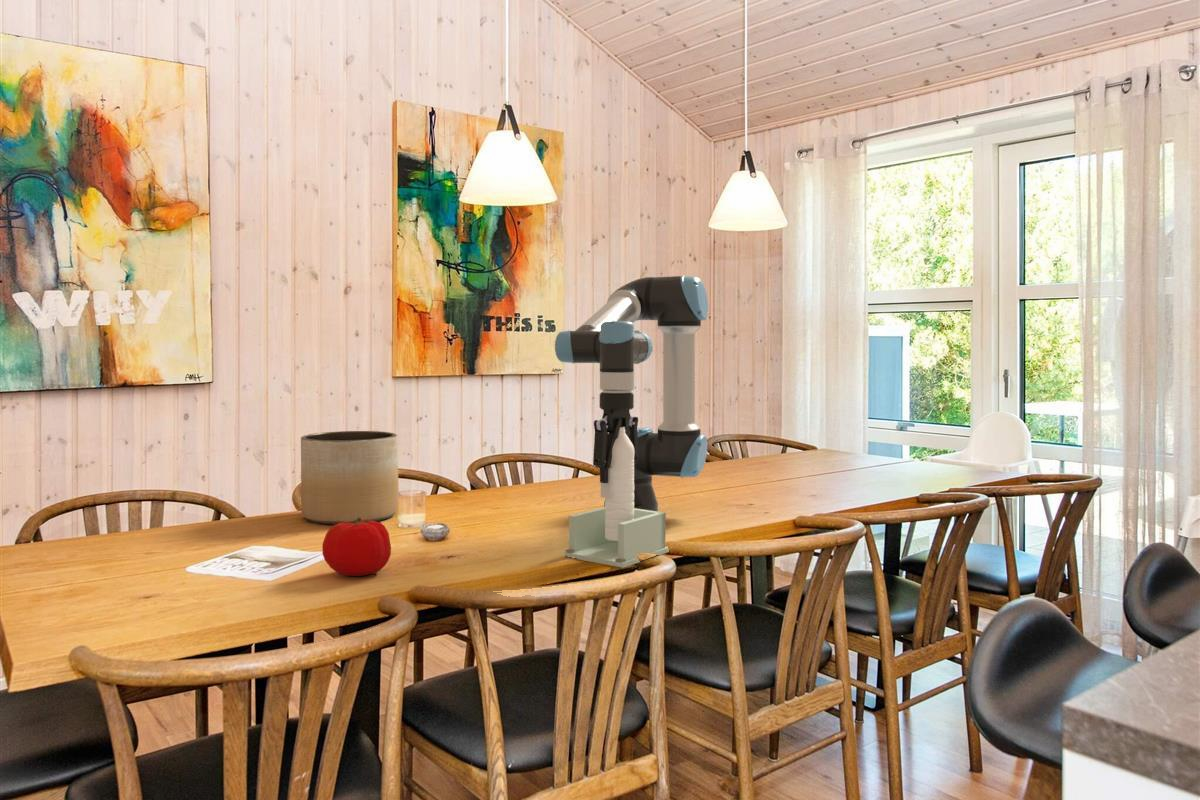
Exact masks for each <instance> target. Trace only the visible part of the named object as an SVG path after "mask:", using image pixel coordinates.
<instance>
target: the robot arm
mask: <svg viewBox="0 0 1200 800" xmlns="http://www.w3.org/2000/svg"><path fill="white" fill-rule="evenodd" d="M708 311H709V303H708V295H707V291H706V288H705V285H704V283H703V281H702V280H701V279H700V278H699V277H697V276H691V275H680V276H679V275H677V276H674V275H673V276H654V277H653V276H648V277H647V276H646V277H641V278H637V279H635V280H632V281H630V282H628V283H625V284H624V285H622V286H620V287H619V288H616V289H615V291H613V292H612V293H610V295H609V296H608V299H607V302H606V303H605V304H604V305H603V306H602V307H601V308H599V310H597V311H596V312H595V313H594V314H593V315H592V316H590V317H589V318H588V319H587V320H586V321H585V322H583V323H582V324H581V325H580V326H579V327H578V328H577V329H575V330H564V331H559V332H558V333H557V335H556V337H555V340H554V351H555V352H554V353H555V356H556V358H557V360H558V361H559V362H561V363H570V364H599V390H600V391H602V392H600V393H599V408H600V410H602V412H603V413H602V417H601V418H600V419H598V420H597V419H595V420H594V421H593V427H594V429H593V430H594V443H593V456H592V457H593V459H592V461H593V462H592V464H593V466H595V467H596V468H599V482H600V498H603V499H604V503H603V507H605V502H606V500H605V498H613V468H610V465H611V460H612V448H613V445H614V442H615V439H617V438H618V434H619V429H620V427H625V430H626V431H625V433H626V435H627V436H628V438H629V439H630V441H631V442H632V444H633V446H634V508H636V509H643V510H650V511H657V512H659V503H658V500H657V496H656V493H655V490H654V487H653V476H660V477H678V478H679V477H680V478H682V479H684V478H696V477H697V476H699V475H700V474H701V473H702V471H703V469H704V466H705V464H706V463H705V462H706V460H707V459H706V458H707V454H708V438H707V436H706V435H704V434H702V433H701V426H699V425H698V424H697V422H696V417H695V416H696V413H695V412H696V333H697V331H698V330H699V329H700V328H701V326H702V321H705V320H706V319H707V318H708V315H709V314H708ZM636 321H657V328H658V329H659V330H660V331H661V332H662V334H663V335H662V337H663V338H662V339H663V341H662V344H663V345H662V350H663V351H662V355H663V356H662V357H663V358H662V361H663V362H662V365H663V366H662V375H663V376H662V380H663V381H662V388H663V389H662V392H663V393H662V394H663V395H662V400H663V402H662V407H663V408H662V410H663V411H662V412H663V416H662V417H663V418H662V419H663V420H662V422H661V423H660V424H659V425H658V427H657V433H655V432H654V430H653V428H652V427H650V426H648V427H638V425H639V417H638V416H631V412H630V410H632V409H634V408H635V407H634V403H635V400H634V399H635V397H634V395H635V394H634V393H633V392H632V391H634V390H635V377H634V376H635V373H634V372H635V371H634V370H635V365H638V364H640V363H641V364H642V363H643V362H645V361H647V360H648V359H649V358H650V356H651V355H652V352H653V343H652V340H651V338H650V337H649V335H648V334H646V333H645V332H643V331H640V330H635V326H634V323H635V322H636ZM634 364H635V365H634ZM605 461H606V462H605Z"/></svg>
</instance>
